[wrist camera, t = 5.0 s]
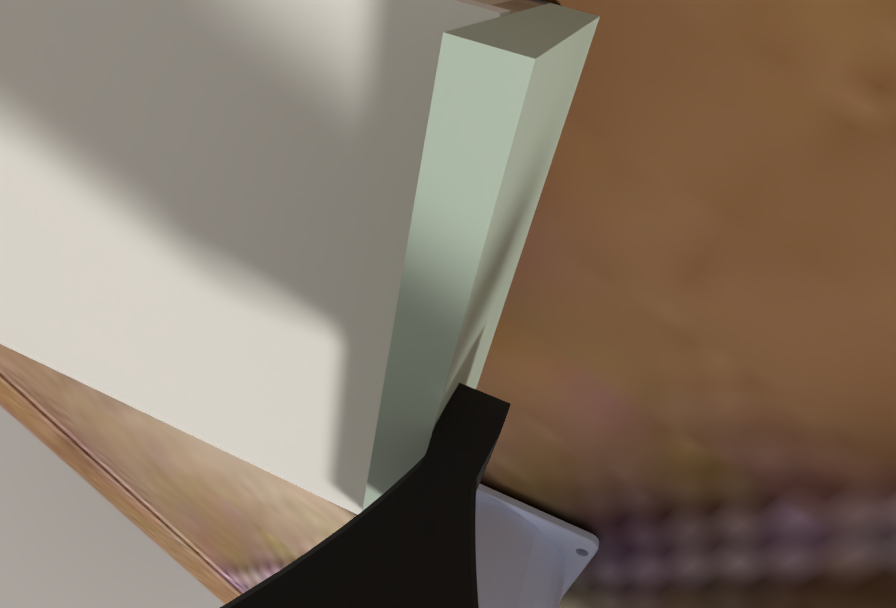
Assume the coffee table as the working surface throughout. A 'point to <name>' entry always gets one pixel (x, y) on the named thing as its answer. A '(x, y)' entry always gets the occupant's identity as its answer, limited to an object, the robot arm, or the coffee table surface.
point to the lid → (276, 211)
